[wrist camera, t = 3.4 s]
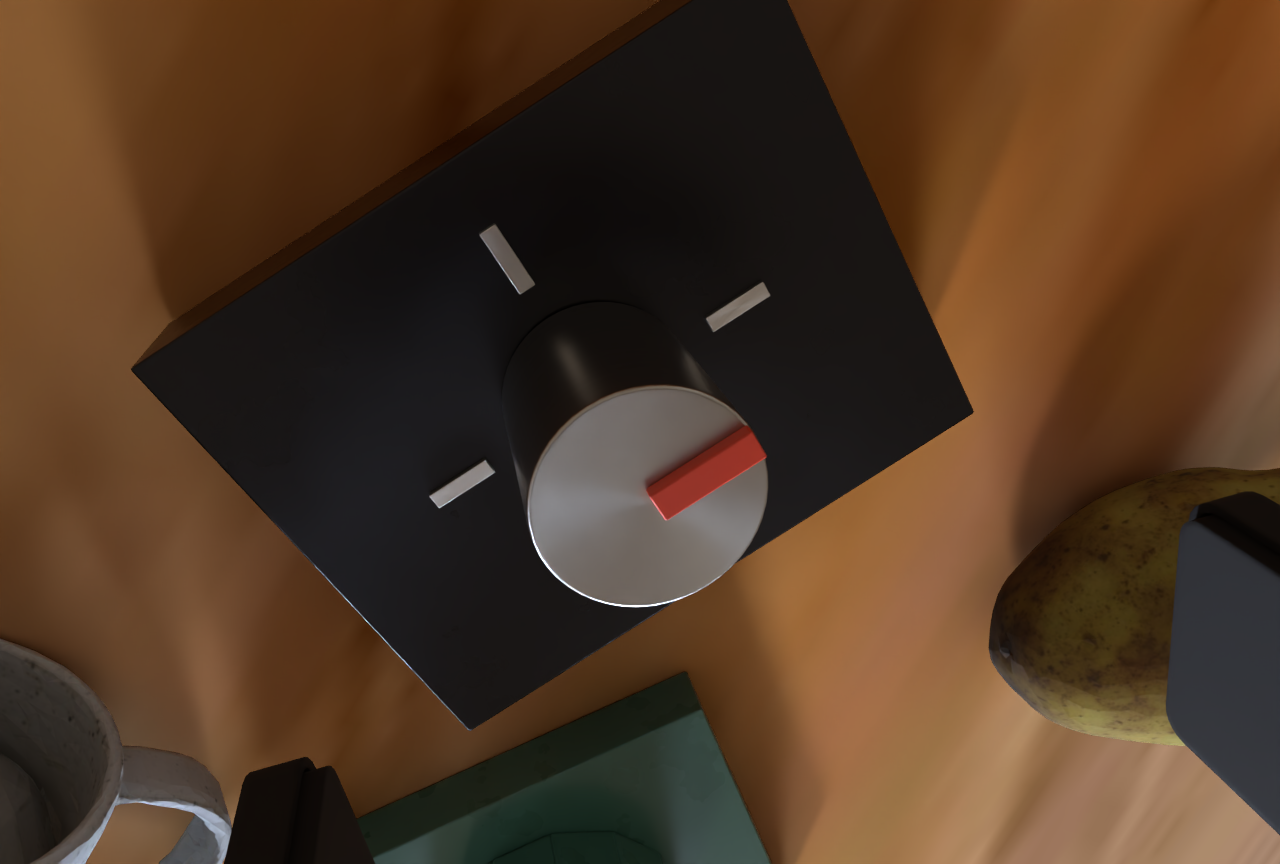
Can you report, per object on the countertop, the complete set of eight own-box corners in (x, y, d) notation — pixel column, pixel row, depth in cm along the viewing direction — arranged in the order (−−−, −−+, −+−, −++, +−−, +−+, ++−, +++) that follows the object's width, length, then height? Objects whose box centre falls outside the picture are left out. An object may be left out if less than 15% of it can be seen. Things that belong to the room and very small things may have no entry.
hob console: (463, 657, 25) (469, 737, 22) (167, 324, 20) (126, 372, 18) (914, 371, 25) (979, 415, 22) (719, -39, 20) (769, -50, 17)
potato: (1009, 402, 26) (1240, 549, 18) (1384, 415, 29) (1708, 545, 22) (940, 660, 29) (1114, 871, 22) (1286, 646, 32) (1540, 828, 25)
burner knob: (568, 514, 21) (613, 660, 16) (462, 371, 19) (476, 486, 14) (724, 415, 21) (815, 532, 16) (630, 262, 19) (703, 342, 14)
